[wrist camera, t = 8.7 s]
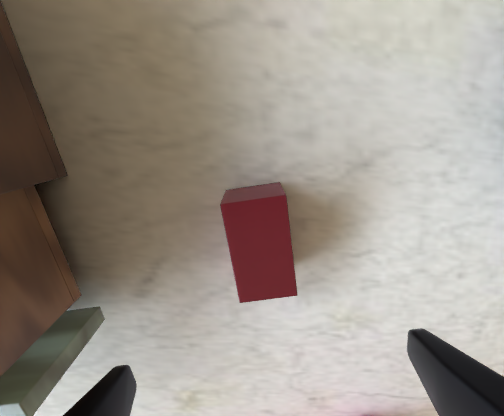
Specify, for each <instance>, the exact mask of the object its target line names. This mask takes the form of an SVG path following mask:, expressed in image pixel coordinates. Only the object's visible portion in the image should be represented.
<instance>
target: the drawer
mask: <svg viewBox="0 0 504 416" xmlns="http://www.w3.org/2000/svg"><path fill="white" fill-rule="evenodd" d="M80 296H81V293H80V290H79V288H78V286H77V283H76V281H75V279H74V276H73V274H72V272H71V269H70V267H69V265H68V262H67V260H66V258H65V255H64V253H63V251H62V249H61V246H60V244H59V242H58V239H57V237H56V235H55V232H54V230H53V228H52V225H51V223H50V221H49V218H48V216H47V214H46V211H45V209H44V207H43V204H42V202H41V200H40V197H39V195H38V193H37V190H36V188H35V186H34V185H32V186H29V187H25V188H22V189H18V190H15V191H11V192H7V193H4V194H0V416H33V415H34V413H35V412H36V411H37V409H38V408H39V407H40V405H41V404H42V403H43V401H44V400H45V399H46V397H47V396H48V395H49V393H50V392H51V391H52V389H53V388H54V387H55V385H56V384H57V383H58V381H59V380H60V379H61V377H62V376H63V375H64V373H65V372H66V371H67V369H68V368H69V367H70V365H71V364H72V363H73V361H74V360H75V359H76V357H77V356H78V355H79V353H80V352H81V351H82V349H83V348H84V347H85V345H86V344H87V343H88V341H89V340H90V339H91V337H92V336H93V335H94V333H95V332H96V331H97V329H98V328H99V327H100V325H101V324H102V323H103V321H104V320H105V318H104V315H103V313H102V311H101V308H100V307H92V308H84V309H76V310H69V311H66V310H67V309H68V308H69V307H70V306H71V305H72V304H73V303H74V302H75V301H76V300H77V299H78V298H79V297H80Z"/></svg>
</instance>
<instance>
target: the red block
mask: <svg viewBox="0 0 504 416" xmlns="http://www.w3.org/2000/svg"><path fill="white" fill-rule="evenodd" d="M220 206H221V211H222V216H223V221H224V226H225V231H226V236H227V241H228V246H229V251H230V256H231V261H232V266H233V271H234V276H235V281H236V286H237V291H238V297H239V302H240V303H243V302H250V301H258V300H266V299H274V298H282V297H289V296H297V287H296V278H295V269H294V260H293V251H292V242H291V233H290V225H289V216H288V207H287V198H286V194H285V192H284V190H283V188H282V186H281V184H280V182H277V183H270V184H263V185H256V186H250V187H243V188H236V189H229V190H226V191H225V194H224V196H223V199H222V202H221V204H220Z"/></svg>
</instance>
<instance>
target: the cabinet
mask: <svg viewBox="0 0 504 416" xmlns="http://www.w3.org/2000/svg"><path fill="white" fill-rule="evenodd" d="M65 176H67V173H66V171H65V168H64V165H63V163H62V160H61V157H60V155H59V152H58V150H57V147H56V144H55V142H54V139H53V137H52V134H51V131H50V129H49V126H48V124H47V121H46V118H45V116H44V113H43V110H42V108H41V105H40V103H39V100H38V97H37V95H36V92H35V90H34V87H33V84H32V82H31V79H30V77H29V74H28V71H27V69H26V66H25V64H24V61H23V58H22V56H21V53H20V50H19V48H18V45H17V43H16V40H15V37H14V35H13V32H12V30H11V27H10V24H9V22H8V19H7V17H6V14H5V11H4V9H3V6H2V3H1V1H0V194H4V193H7V192H11V191H15V190H18V189H22V188H25V187H29V186H32V185H36V184H40V183H43V182H47V181H50V180H54V179H57V178H61V177H65Z"/></svg>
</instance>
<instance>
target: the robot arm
mask: <svg viewBox="0 0 504 416" xmlns="http://www.w3.org/2000/svg"><path fill="white" fill-rule="evenodd" d="M407 352H408V356H409V358H410V360H411V362H412V364H413V366H414V368H415V370H416V372H417V374H418V376H419V378H420V380H421V382H422V384H423V386H424V388H425V390H426V392H427V394H428V396H429V398H430V400H431V402H432V404H433V405H434V407H435V409H436V411H437V413H438V415H439V416H504V377H503V376H501V375H500V374H498V373H496V372H495V371H493V370H491V369H490V368H488V367H486V366H485V365H483V364H481V363H480V362H478V361H476V360H475V359H473V358H471V357H470V356H468V355H466V354H465V353H463V352H461V351H460V350H458V349H456V348H455V347H453V346H451V345H450V344H448V343H446V342H445V341H443V340H442V339H440V338H438V337H437V336H435V335H433V334H432V333H430V332H428V331H427V330H425V329H412V330H409V332H408V343H407ZM135 393H136V381H135V378H134V376H133V373H132V371H131V368H130V366H128V365H121V366H116V367H114V368H113V369H112V370H111V371H110V372H109V373H108V374H106V375H105V376H104V377H103V378H102V379H101V380H100V381H99V382H98V383H97V384H96V385H95V386H94V387H93V388H92V389H91V390H90V391H88V392H87V393H86V394H85V395H84V396H83V397H82V398H81V399H80V400H79V401H78V402H77V403H76V404H75V405H74V406H73V407H72V408H70V409H69V410H68V411H67V412H66V413H65V414H64V415H63V416H130V413H131V409H132V405H133V401H134V397H135Z"/></svg>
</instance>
